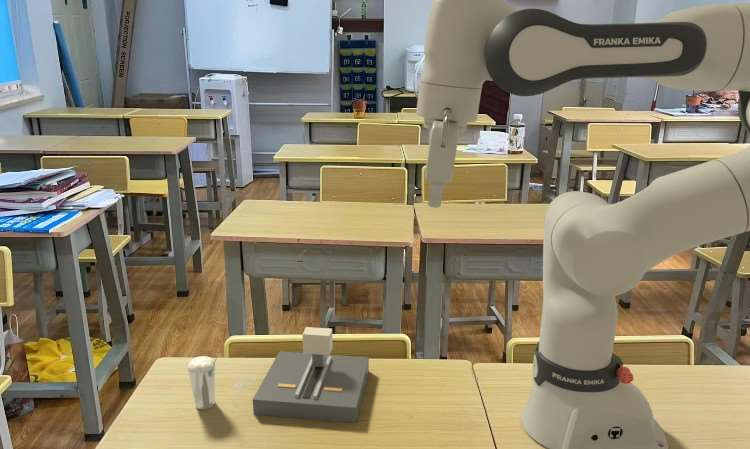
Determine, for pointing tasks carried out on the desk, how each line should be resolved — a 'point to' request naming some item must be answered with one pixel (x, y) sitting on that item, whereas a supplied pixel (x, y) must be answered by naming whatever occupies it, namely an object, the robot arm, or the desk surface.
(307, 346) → the fader tab
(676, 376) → the desk surface
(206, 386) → the milkshake
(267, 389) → the fader console
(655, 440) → the robot arm
